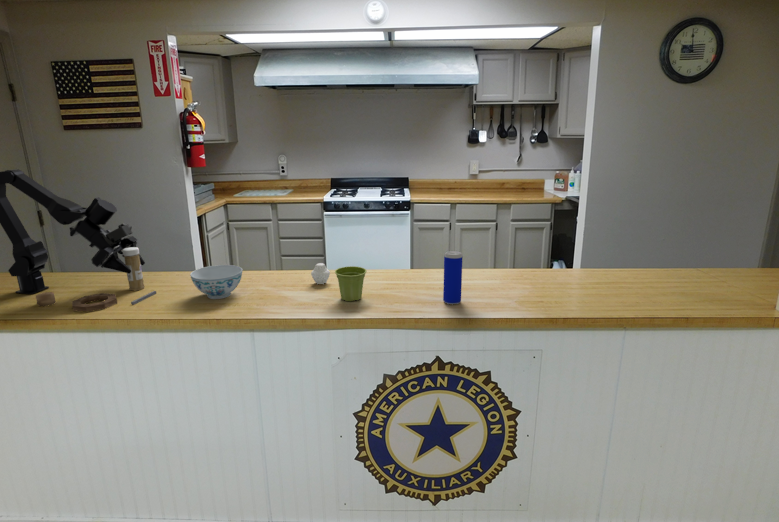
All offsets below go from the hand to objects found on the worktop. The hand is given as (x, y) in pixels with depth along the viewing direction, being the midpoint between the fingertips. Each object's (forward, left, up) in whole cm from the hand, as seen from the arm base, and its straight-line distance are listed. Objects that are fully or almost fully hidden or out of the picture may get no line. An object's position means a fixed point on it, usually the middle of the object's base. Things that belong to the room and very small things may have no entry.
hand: (137, 268), depth 153 cm
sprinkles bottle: (-1, 0, -7) cm, 7 cm away
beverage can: (+100, +6, -7) cm, 100 cm away
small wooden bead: (-18, -17, -7) cm, 26 cm away
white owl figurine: (+56, +16, -7) cm, 58 cm away
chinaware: (+29, -1, -7) cm, 30 cm away
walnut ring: (-3, -15, -7) cm, 17 cm away
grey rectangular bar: (+8, -8, -7) cm, 13 cm away
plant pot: (+70, +4, -7) cm, 70 cm away
